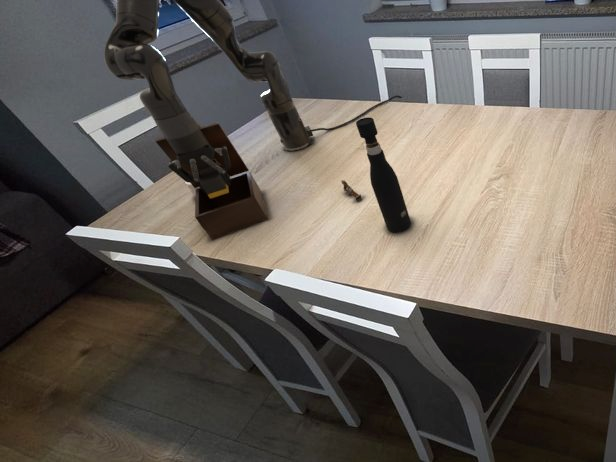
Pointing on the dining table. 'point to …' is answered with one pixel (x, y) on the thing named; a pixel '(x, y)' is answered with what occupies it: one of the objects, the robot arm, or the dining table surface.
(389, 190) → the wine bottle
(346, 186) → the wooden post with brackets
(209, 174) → the duster
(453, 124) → the dining table surface
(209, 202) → the case
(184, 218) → the dining table surface
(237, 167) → the case lid
